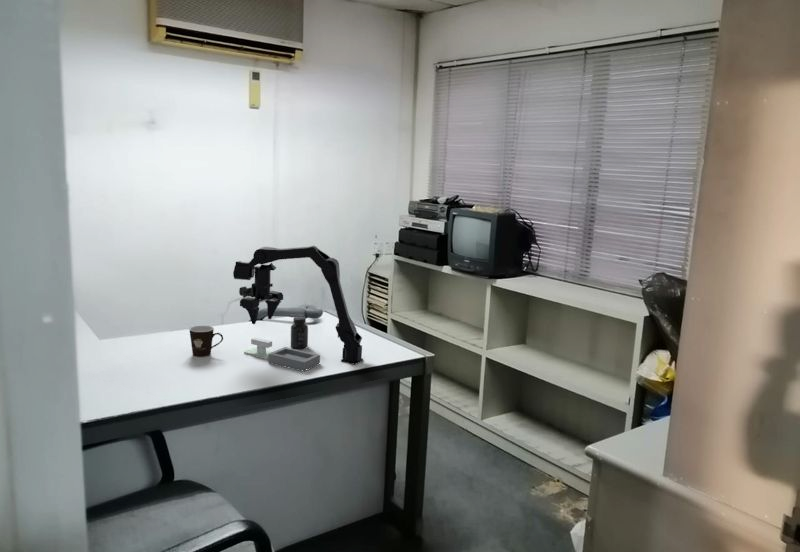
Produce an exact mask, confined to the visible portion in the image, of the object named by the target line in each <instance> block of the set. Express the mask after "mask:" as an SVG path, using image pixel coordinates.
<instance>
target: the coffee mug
mask: <svg viewBox="0 0 800 552" xmlns="http://www.w3.org/2000/svg"><path fill="white" fill-rule="evenodd" d="M188 331H189V337H190V342H191V343H190V344H191V345H190V346H191V352H192V356H194V357H195V358H206V357H209V356H211V354H212V353H211V352H212V349H213V348H215V347H217V346H218V345H220V344H221V343H222V342H223V340H224V336H223V334H222V333H220V332H214V331H215V327H213V326H210V325H194V326H192V327H190V328H189V330H188ZM217 335H218V336H220V337H221V340H220V341H219V342H217V343H215V344H214V345H213V338H214V337H215V336H217Z"/></svg>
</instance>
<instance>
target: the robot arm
mask: <svg viewBox="0 0 800 552" xmlns="http://www.w3.org/2000/svg"><path fill="white" fill-rule="evenodd" d="M306 258H307V259H308V258H309V259H311V260H312V262H314V263H315V265H316V266H317V267H318V268H319V269H320V270H321V273H322V274H323V277H324V279H325V281H326V282H327V284H328V286H329V289H330V293H331V297H332V299H333V304H334V308H335V311H336V315H337V318H338V322H337V324H336V325H335V330H336V332H337V338H339V340H340V341H341V342H342V343H343V347H342V358H341V359H340V361H341V362H342V361H345V362H344V363H346V362H349V363H348V364H351V363H354V364H353V365H357V364H359V363H361V362H362V361H361V360H363V359H364V358H363V357H362V356H363V355H362V353H363V345H361V341H362V340H363V337H362V336H361V335H360V334H359V332H358V330H357V327H356V326H355V323H354V322H353V320H352V318H351V317H350V314H349V311H348V306H347V303H346V300H345V295H344V293H343V287H342V285H341V280H340V279H341V277H340V275H341V273H340V264H339V260H337V259H336V258H334V257H330V256H329V255H328V254H326V253H325V252H323V251H322V250H321V249H320V248H318V247H317V246H315V245H310V246H301V247H288V248H287V247H286V248H277V247H272V246H261V247H259V248H258V249H256V250H255V251H254V253H253V258H252V259H251V260H250V261H241V260H236V261H235V265H234V268H233V272H232V273H233V274H232V276H233V279H234V280H241V281H243V280H244V281H251V280H252V279H253V278H254V282H253V283H251V287H247V286H241V287H239V290H238V293H239V295H240V296H241V297H242V298H241V299H240V300H239V307H242V308H243V309H245V310H246V311H247V313H248V316H249V318H250V321H251V324H252V325H256V323H257V319H258V315H259V311H260V307H259V306H260V303H263V302H265V304H266V305H267V309H266V310H267V318H268V320H272V318H273V316H274V314H275V312H276V310H277V309H278V306H279V305H280V303H282V301H283V300H284V294H283V293H282V292H281V291H276V290H271V288H272V287H274V286H273V285H274V284H273V283H271V271H275V270H276V269H277V266H276V265H274V264H273V262H276V261H281V260H289V259H290V260H292V259H293V260H294V259H306ZM257 265H260V266H257ZM360 361H361V362H360ZM363 361H364V360H363ZM358 362H359V363H358ZM356 363H357V364H356Z"/></svg>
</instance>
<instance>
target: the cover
mask: <svg viewBox="0 0 800 552" xmlns="http://www.w3.org/2000/svg"><path fill="white" fill-rule="evenodd" d="M250 341H251V342H250V344H251V345H253V346H254V345H255V346H256V347H252V348H251V349H247V350H245V351H243V354H244V353H245V355H248V354H249V356H252V355H254V356H253V357H256V356H258V357H257V358H260V357H261V359H264V358H266V359H265V360H268V354H269V353H271V352H272V351H269V350H267V349H268V348H271V347H273V341H272V340H269V339H265V338H264V339H263V338H260V337H252V338H251V339H250Z"/></svg>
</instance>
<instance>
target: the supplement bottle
mask: <svg viewBox="0 0 800 552" xmlns="http://www.w3.org/2000/svg"><path fill="white" fill-rule="evenodd" d="M292 323H293V324H291V326H290V348H292V349H293V348H295V349H296V350H305V349H307V348H308V346H309V345H308V344H309V327H308V324H306V323H307V321H306V317H304V316H295V317H293V321H292ZM306 347H307V348H306ZM304 348H305V349H304Z"/></svg>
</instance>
